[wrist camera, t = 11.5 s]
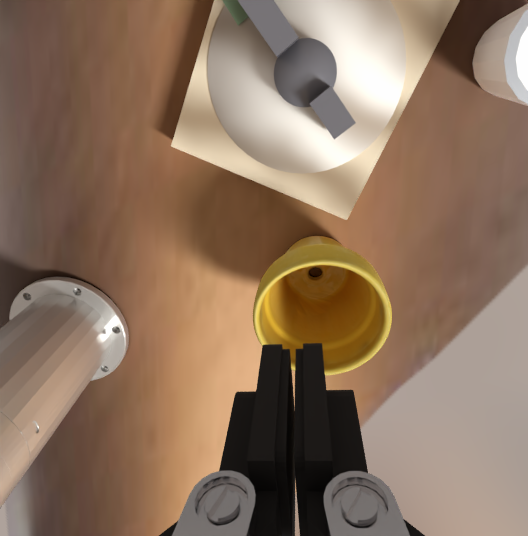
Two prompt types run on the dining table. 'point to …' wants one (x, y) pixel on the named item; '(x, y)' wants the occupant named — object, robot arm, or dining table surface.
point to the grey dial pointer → (300, 66)
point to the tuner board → (305, 118)
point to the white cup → (504, 57)
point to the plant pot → (323, 304)
